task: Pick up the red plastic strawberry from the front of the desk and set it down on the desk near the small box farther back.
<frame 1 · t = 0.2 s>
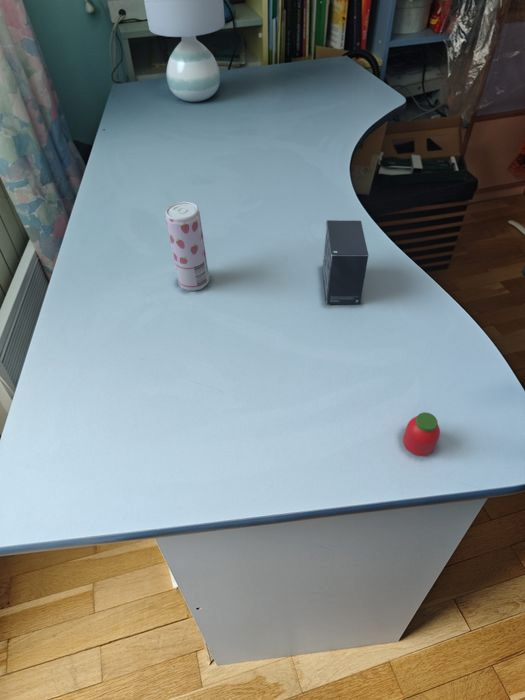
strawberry: (418, 442, 65), on the table
beverage can: (194, 282, 90), on the table
lamp: (195, 97, 153), on the table
small box: (341, 286, 88), on the table
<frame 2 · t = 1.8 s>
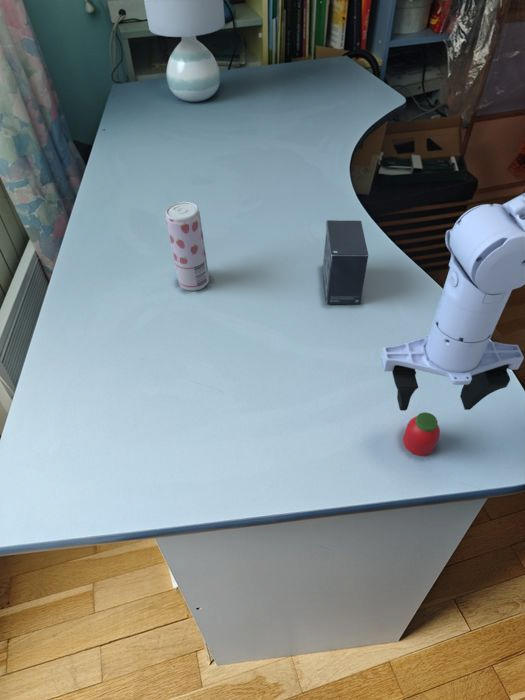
hand: (433, 403, 59), 9 cm above the table, tool pointing down, fingers open, 7 cm apart
nothing on the table moved.
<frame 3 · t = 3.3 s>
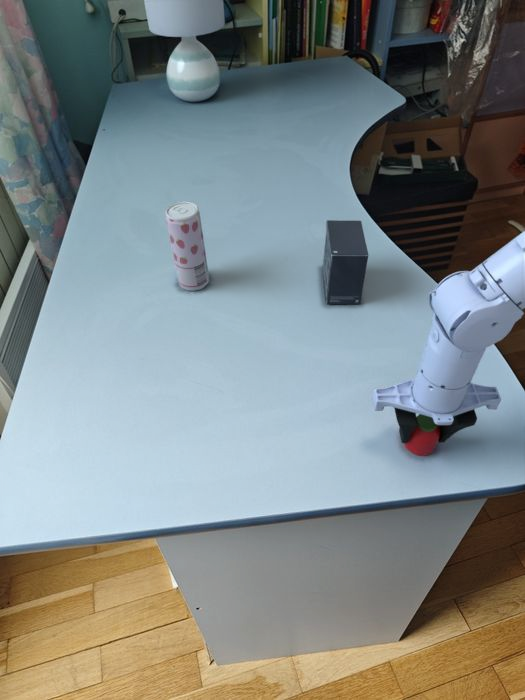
hand: (421, 436, 64), 1 cm above the table, tool pointing down, fingers closed on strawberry, 4 cm apart
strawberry: (419, 442, 65), on the table, touching gripper
everything else where it was.
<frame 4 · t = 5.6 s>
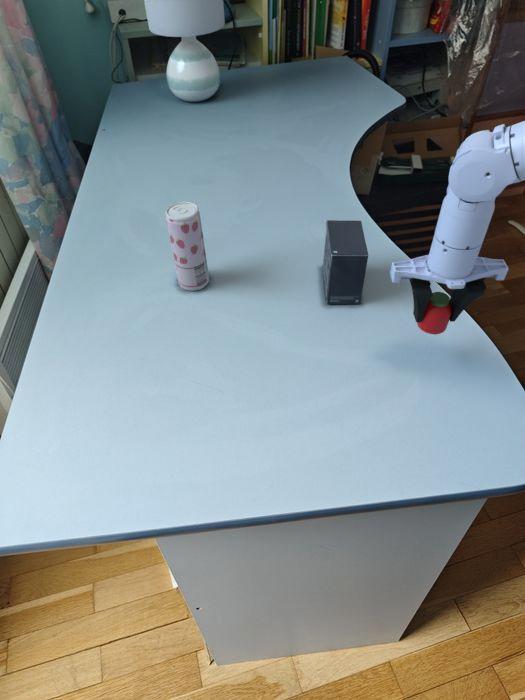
hand: (433, 317, 69), 8 cm above the table, tool pointing down, fingers closed on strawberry, 4 cm apart
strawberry: (431, 324, 70), point 7 cm above the table, touching gripper
everything else where it was.
when the fingers open (1 cm above the table, at t = 8.2 s): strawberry stays where it is, on the table.
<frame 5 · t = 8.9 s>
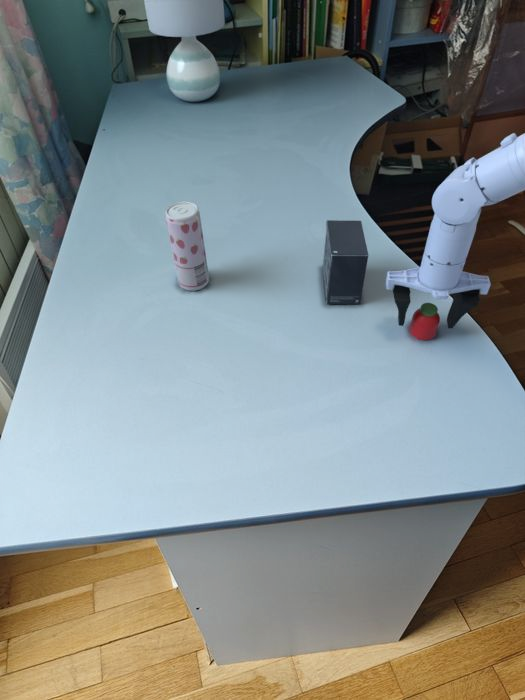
hand: (424, 322, 78), 2 cm above the table, tool pointing down, fingers open, 7 cm apart
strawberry: (422, 331, 79), on the table
everything else where it was.
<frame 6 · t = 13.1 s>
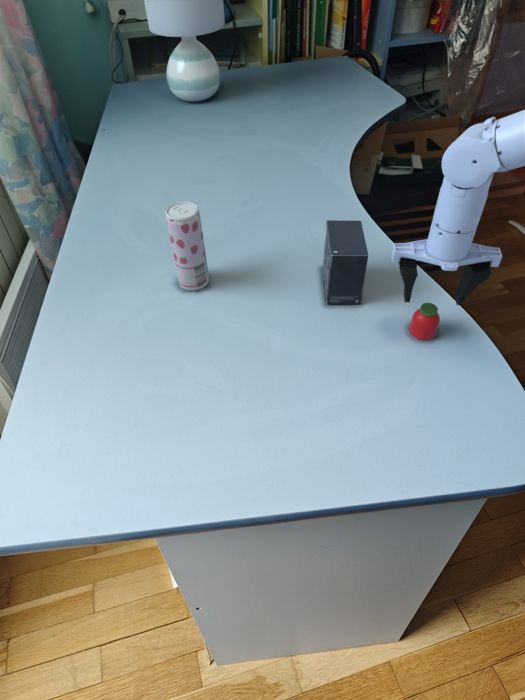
hand: (432, 299, 74), 7 cm above the table, tool pointing down, fingers open, 7 cm apart
nothing on the table moved.
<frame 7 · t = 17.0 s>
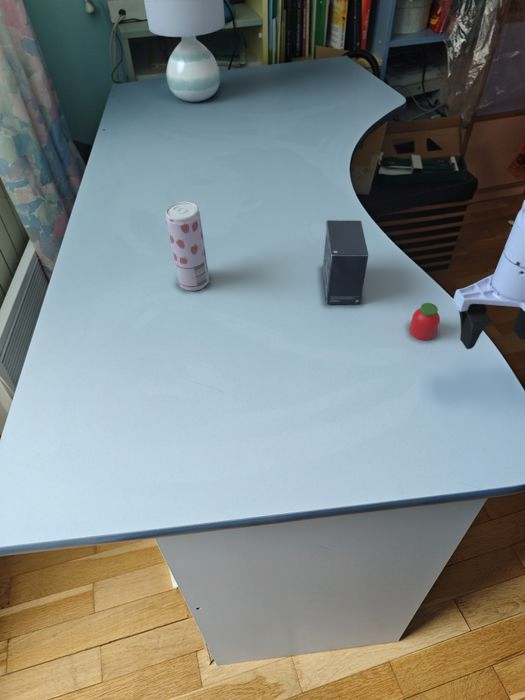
hand: (492, 339, 65), 9 cm above the table, tool pointing down, fingers open, 7 cm apart
nothing on the table moved.
at the end: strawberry 17.0 cm from the small box (horizontally); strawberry on the table; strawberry moved 21.6 cm from its start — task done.
